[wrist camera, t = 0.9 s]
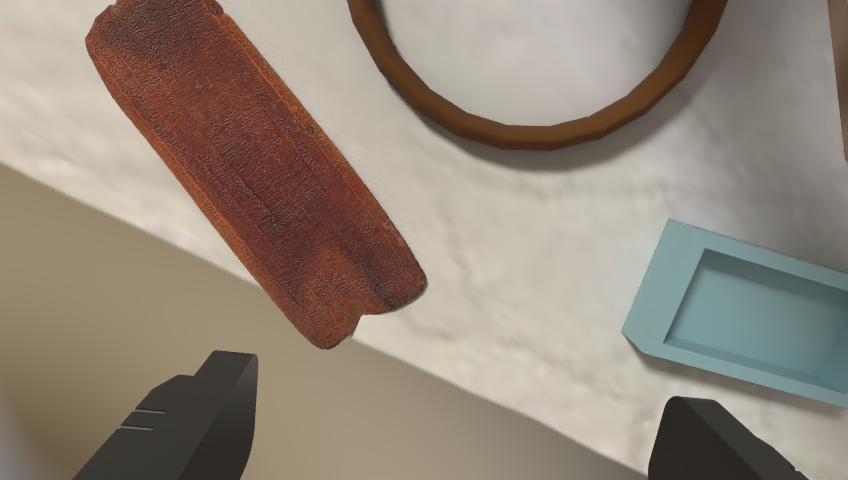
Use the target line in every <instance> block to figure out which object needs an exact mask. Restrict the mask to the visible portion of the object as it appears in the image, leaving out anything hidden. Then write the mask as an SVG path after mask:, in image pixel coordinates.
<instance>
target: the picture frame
mask: <svg viewBox="0 0 848 480" xmlns="http://www.w3.org/2000/svg"><path fill="white" fill-rule="evenodd" d="M827 1H828V10H829V19H830V28H831V37H832V45H833V54H834V63H835V72H836V81H837V90H838V99H839V108H840V117H841V126H842V134H843V143H844V152H845V160H848V0H827Z"/></svg>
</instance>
